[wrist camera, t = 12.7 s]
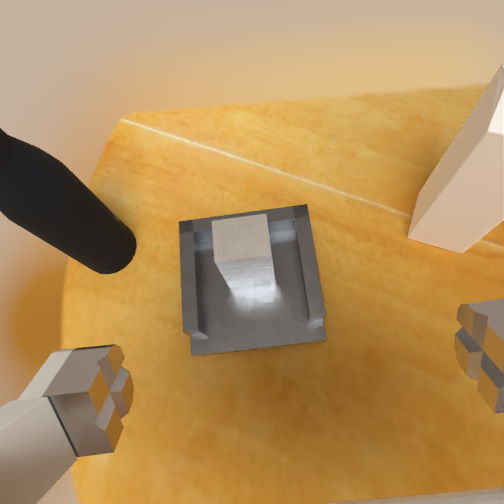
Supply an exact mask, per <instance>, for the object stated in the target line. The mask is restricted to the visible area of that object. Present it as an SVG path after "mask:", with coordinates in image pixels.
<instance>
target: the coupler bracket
mask: <svg viewBox="0 0 504 504" xmlns="http://www.w3.org/2000/svg"><path fill="white" fill-rule="evenodd" d="M259 214H266V215H267V222H268V229H269V236H270V243H271V250H272V258H273V266H274V274H275V282H276V283H269V284H261V285H253V286H245V287H237V288H230V287H229V286H228V284H227V282H226V281H225V279H224V277H223V276H222V274H221V272H220V271H219V269H218V267H217V266H216V264H215V262H214V248H213V234H212V221H214V220H222V219H229V218H237V217H244V216H251V215H259ZM179 235H180V262H181V289H182V316H183V332H184V333H186V334H188V335H190V336H191V355H192V356H201V355H210V354H219V353H227V352H236V351H245V350H253V349H262V348H271V347H280V346H288V345H297V344H306V343H314V342H323V341H326V340H327V339H326V333H325V327H324V321H323V320H324V318H325V316H326V313H325V307H324V302H323V296H322V290H321V284H320V278H319V272H318V266H317V261H316V255H315V249H314V243H313V237H312V231H311V225H310V220H309V214H308V208H307V204H305V205H298V206H291V207H283V208H276V209H268V210H261V211H254V212H246V213H239V214H232V215H224V216H217V217H210V218H202V219H195V220H187V221H180V222H179Z"/></svg>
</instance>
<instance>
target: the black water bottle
mask: <svg viewBox="0 0 504 504" xmlns="http://www.w3.org/2000/svg"><path fill="white" fill-rule="evenodd" d="M0 211H1V212H2V213H3V214H4V215H5V216H6V217H7V218H8V219H9V220H11V221H12V222H14V223H16V224H17V225H19V226H21V227H22V228H24V229H26V230H27V231H29V232H31V233H32V234H34V235H36V236H37V237H39V238H41V239H42V240H44V241H45V242H47V243H49V244H50V245H52V246H54V247H55V248H57V249H59V250H60V251H62V252H64V253H65V254H67V255H69V256H70V257H72V258H74V259H75V260H77V261H78V262H80V263H82V264H83V265H85V266H87V267H88V268H90V269H92V270H93V271H96V272H98V273H100V274H111V273H115V272H118V271H120V270H121V269H123V268H125V267H126V266H127V265H128V264H129V263H130V262H131V260H132V258H133V256H134V254H135V250H136V239H135V237H134V235H133V233H132V231H131V230H130V229H129V228H128V227H127V226H126V225H125V224H124V223H122V222H121V221H120V220H119V219H118V218H117V217H116V216H115V215H114V214H113V213H112V212H111V211H110V210H109V209H108V208H107V207H106V206H105V205H104V204H103V203H102V202H101V201H100V200H99V199H98V198H97V197H96V196H95V195H94V194H93V193H92V192H91V191H90V190H89V189H88V188H87V187H86V186H85V185H84V184H83V183H82V182H81V181H80V180H79V179H78V178H77V177H76V176H75V175H74V174H73V173H72V172H71V171H70V170H69V169H68V168H67V167H66V166H65V165H64V164H63V163H61V162H60V161H59V160H57V159H56V158H54V157H53V156H51V155H50V154H48V153H46V152H45V151H43V150H41V149H40V148H37V147H35V146H33V145H30V144H28V143H26V142H24V141H21V140H19V139H16V138H14V137H11V136H9V135H7V134H6V133H5V132H4V131H3V130H1V128H0Z"/></svg>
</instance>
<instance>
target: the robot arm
mask: <svg viewBox="0 0 504 504" xmlns="http://www.w3.org/2000/svg"><path fill="white" fill-rule="evenodd" d="M457 320H458V321H459V322H460V324H461V325H462V326H463V327H462V328H461V329H460V330H459V331H458V332H457V333H456V335H455V351H456V356H457V359H458V361H459V364H460V366H461V368H462V369H463V370H464V372H465V373H466V375H468V376H469V377H471V378H473V379H475V380H477V381H479V382H478V391H479V393H480V394H481V395H482V397H483V398H484V399H485V401H486V402H487V403H488V405H489V406H490V407H491V409H492V410H493V411H494V413H504V299H497V300H489V301H482V302H474V303H466V304H461V305H460V307H459V309H458V314H457ZM123 360H124V355H123V353H122V350H121V348H120V347H119V346H118V345H116V344H114V345H104V346H94V347H83V348H77V349H75V348H73V349H65V350H57V351H55V352H53V353H52V354H51V355H50V356H49V358H48V359H47V360H46V362H45V363H44V365H43V366H42V367H41V369H40V370H39V372H38V373H37V374H36V375H35V377H34V378H33V380H32V381H31V382H30V384H29V385H28V387H27V388H26V389H25V391H24V392H23V393H22V395H21V396H20V397H19V399H18V400H14V401H10V402H9V403H7V404H5V405H4V406H2V407H1V408H0V504H36V503H37V502H38V501H39V500H40V499H41V498H42V497H43V496H44V495H45V494H46V493H47V492H48V490H49V489H50V488H51V487H52V486H53V485H54V484H55V483H56V482H57V480H59V478H60V477H61V476H62V475H63V474H64V473H65V472H66V471H67V470H68V469H69V468H70V467H71V466H72V465H73V463H74V462H75V461H76V460H77V457H82V456H90V455H97V454H105V453H113V452H114V451H115V448H116V446H117V443H118V440H119V438H120V435H121V432H122V430H123V425H122V422H121V420H120V419H121V418H123V417H124V416H125V415H126V414H127V413H128V412H129V410H130V407H131V404H132V401H133V390H134V389H133V382H132V378H131V375H130V372H129V371H128V370H126V369H125V368H124V367H122V366H121V365H122V362H123ZM326 504H504V487H501V488H490V489H479V490H468V491H457V492H446V493H435V494H424V495H413V496H402V497H391V498H381V499H370V500H359V501H348V502H337V503H326Z"/></svg>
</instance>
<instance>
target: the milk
mask: <svg viewBox="0 0 504 504" xmlns="http://www.w3.org/2000/svg"><path fill="white" fill-rule="evenodd" d="M502 221H504V64H502V65H501V67H500V68H499V70H498V71H497V73H496V74H495V76H494V78H493V79H492V81H491V82H490V84H489V85H488V87H487V88H486V90H485V91H484V93H483V95H482V96H481V98H480V99H479V101H478V102H477V104H476V105H475V107H474V108H473V110H472V112H471V113H470V115H469V116H468V118H467V119H466V121H465V122H464V124H463V126H462V127H461V129H460V130H459V132H458V133H457V135H456V136H455V138H454V139H453V141H452V143H451V144H450V146H449V147H448V149H447V150H446V152H445V153H444V155H443V157H442V158H441V160H440V161H439V163H438V164H437V166H436V167H435V169H434V170H433V172H432V174H431V175H430V177H429V178H428V180H427V181H426V183H425V184H424V186H423V188H422V189H421V191H420V192H419V194H418V197H417V201H416V205H415V209H414V212H413V216H412V220H411V224H410V227H409V231H408V235H407V238H408V239H411V240H415V241H418V242H422V243H425V244H428V245H432V246H435V247H439V248H442V249H446V250H449V251H453V252H456V253H459V254H462V253H464V252H465V251H466V250H467V249H469V248H470V247H471V246H472V245H474V244H475V243H476V242H477V241H479V240H480V239H481V238H482V237H484V236H485V235H486V234H487V233H489V232H490V231H491V230H492V229H494V228H495V227H496V226H497V225H499V224H500V223H501V222H502Z"/></svg>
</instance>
